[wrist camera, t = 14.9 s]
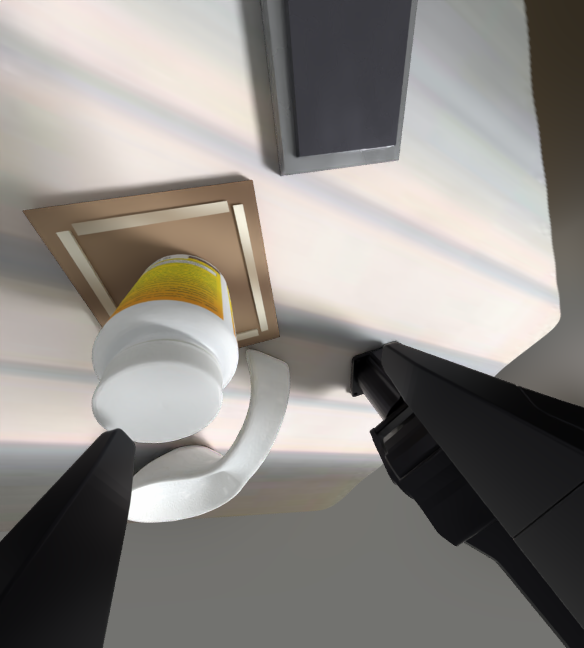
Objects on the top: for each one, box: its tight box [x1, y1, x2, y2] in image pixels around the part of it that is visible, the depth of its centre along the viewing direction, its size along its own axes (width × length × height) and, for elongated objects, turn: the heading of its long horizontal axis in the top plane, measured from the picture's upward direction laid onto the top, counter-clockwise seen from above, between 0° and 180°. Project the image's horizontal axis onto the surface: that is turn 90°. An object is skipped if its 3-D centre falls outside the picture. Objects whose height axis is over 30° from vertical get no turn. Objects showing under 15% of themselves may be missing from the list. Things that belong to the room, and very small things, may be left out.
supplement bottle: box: [92, 254, 239, 443], centre depth 12 cm, size 6×6×10 cm
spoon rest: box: [128, 349, 290, 522], centre depth 23 cm, size 24×12×7 cm, turn 144°
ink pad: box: [260, 0, 418, 176], centre depth 12 cm, size 10×8×2 cm
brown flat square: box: [23, 180, 280, 348], centre depth 16 cm, size 12×12×1 cm
